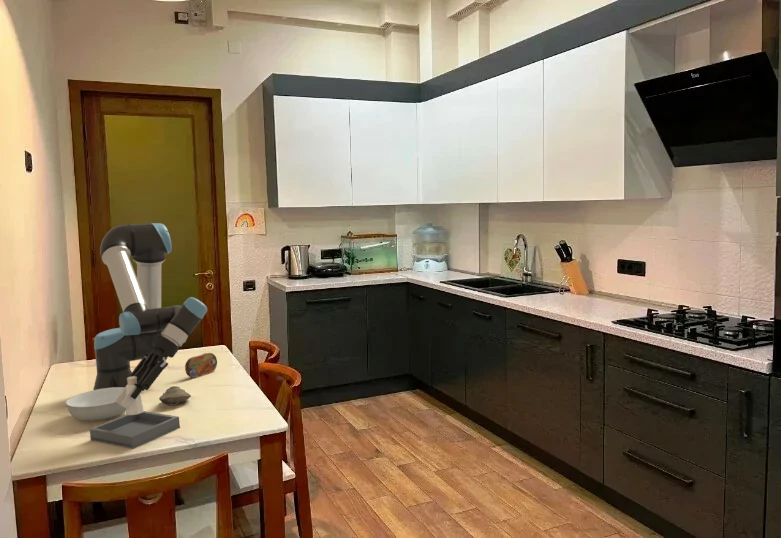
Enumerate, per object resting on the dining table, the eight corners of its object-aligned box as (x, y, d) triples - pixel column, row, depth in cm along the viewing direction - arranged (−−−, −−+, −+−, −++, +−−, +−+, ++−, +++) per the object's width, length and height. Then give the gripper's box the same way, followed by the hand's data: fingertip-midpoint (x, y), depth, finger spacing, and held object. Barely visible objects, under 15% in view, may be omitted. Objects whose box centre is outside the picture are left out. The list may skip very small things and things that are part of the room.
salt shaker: (131, 409, 194) (127, 374, 193) (147, 409, 193) (144, 374, 192) (121, 415, 189) (118, 379, 187) (138, 415, 188) (135, 379, 187)
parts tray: (90, 440, 188) (89, 429, 188) (138, 420, 204) (137, 410, 204) (133, 448, 180) (132, 437, 180) (179, 427, 196) (179, 416, 196)
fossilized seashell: (197, 395, 223) (188, 379, 221) (178, 414, 214) (169, 398, 212) (177, 398, 228) (168, 382, 226) (157, 416, 219) (148, 400, 217)
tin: (189, 380, 250) (188, 359, 249) (184, 379, 252) (182, 358, 251) (218, 370, 263) (216, 351, 262) (213, 369, 265) (211, 350, 264)
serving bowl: (104, 403, 224) (102, 384, 223) (149, 409, 216) (147, 389, 215) (52, 423, 205) (50, 403, 204) (100, 430, 197) (98, 409, 196)
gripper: (190, 351, 194) (141, 417, 184) (167, 344, 206) (120, 406, 196) (172, 337, 189) (121, 404, 180) (149, 331, 202) (101, 393, 192)
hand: (121, 405), depth 188 cm, fingers closed on salt shaker, 4 cm apart
